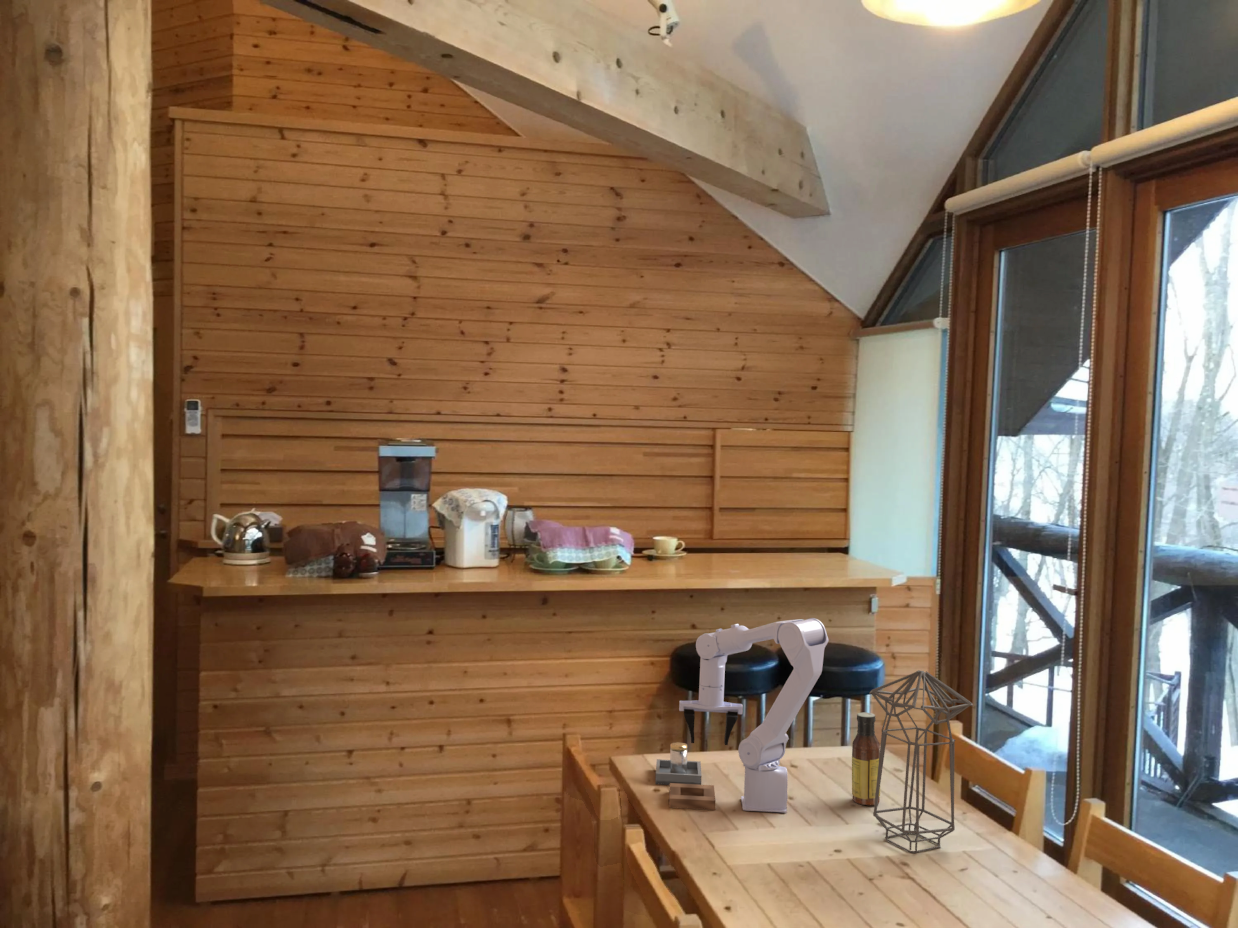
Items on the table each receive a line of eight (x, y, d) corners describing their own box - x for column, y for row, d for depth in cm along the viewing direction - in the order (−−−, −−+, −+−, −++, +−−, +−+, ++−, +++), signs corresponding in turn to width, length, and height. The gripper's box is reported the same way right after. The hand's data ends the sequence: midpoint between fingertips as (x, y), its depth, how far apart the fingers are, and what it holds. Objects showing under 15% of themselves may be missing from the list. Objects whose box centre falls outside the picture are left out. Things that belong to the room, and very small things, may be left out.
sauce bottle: (877, 797, 231) (881, 711, 230) (882, 807, 225) (885, 718, 224) (848, 796, 231) (851, 709, 231) (852, 805, 225) (855, 716, 225)
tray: (700, 771, 245) (700, 761, 245) (701, 786, 235) (701, 775, 235) (656, 769, 246) (656, 759, 246) (655, 783, 235) (655, 773, 235)
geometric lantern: (857, 834, 209) (865, 664, 209) (917, 826, 215) (924, 661, 216) (909, 862, 195) (918, 680, 195) (971, 853, 201) (980, 677, 201)
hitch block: (713, 793, 230) (713, 785, 230) (715, 809, 220) (715, 800, 220) (669, 791, 230) (669, 782, 230) (669, 807, 220) (669, 798, 220)
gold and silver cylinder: (686, 771, 242) (686, 742, 242) (687, 776, 238) (687, 747, 238) (669, 771, 242) (670, 742, 242) (670, 776, 238) (670, 747, 238)
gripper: (742, 681, 237) (739, 739, 237) (680, 678, 238) (677, 735, 238) (744, 689, 230) (741, 748, 230) (680, 685, 231) (677, 744, 231)
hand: (709, 742), depth 234 cm, fingers open, 7 cm apart
